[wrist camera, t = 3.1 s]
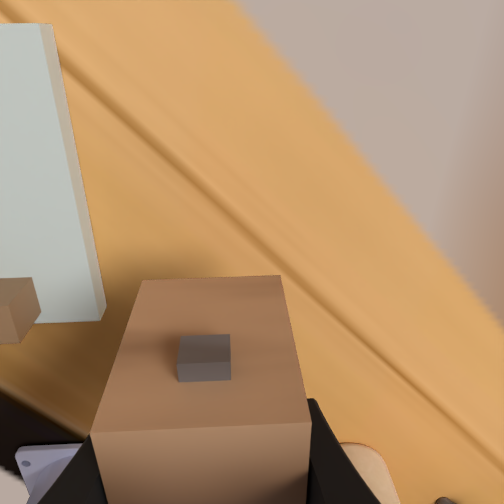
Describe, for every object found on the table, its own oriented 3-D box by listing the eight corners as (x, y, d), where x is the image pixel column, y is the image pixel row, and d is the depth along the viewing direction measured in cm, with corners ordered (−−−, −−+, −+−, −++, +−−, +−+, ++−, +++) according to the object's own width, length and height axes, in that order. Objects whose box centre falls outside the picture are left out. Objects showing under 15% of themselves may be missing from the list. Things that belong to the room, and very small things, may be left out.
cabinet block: (277, 397, 17) (300, 570, 11) (160, 403, 16) (128, 580, 11) (280, 260, 14) (313, 402, 9) (140, 265, 14) (84, 413, 8)
